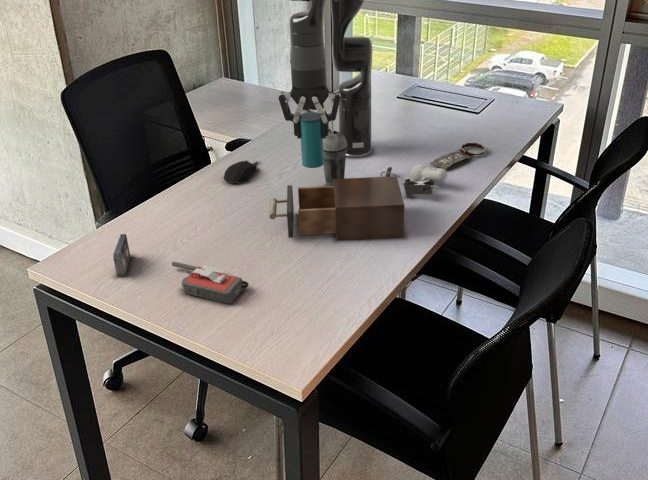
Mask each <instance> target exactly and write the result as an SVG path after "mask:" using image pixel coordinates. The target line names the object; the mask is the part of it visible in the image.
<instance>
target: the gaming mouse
mask: <svg viewBox="0 0 648 480" xmlns="http://www.w3.org/2000/svg"><path fill="white" fill-rule="evenodd" d="M256 164H258V162H257V161H256V162H254V163H251V162H250V161H249V160H241V161H238V162H235V163H233V164H231V165H229V166H228V167H227V169H226V170H225V171H224V175H223V180H224V181H225V182H226V183H229V184H242V183H244V182H246V181H248V179H250V178H251V177H252V176H253V175H254V174H255V173H256V172H257V166H256Z"/></svg>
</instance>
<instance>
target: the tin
mask: <svg viewBox="0 0 648 480" xmlns="http://www.w3.org/2000/svg"><path fill="white" fill-rule="evenodd" d="M299 120H300V134H301V139H300V149H301V150H300V151H301V165H302V166H303V167H304V168H307V169H316V168H317V169H318V168H321V167H323V166H324V165H323V164H324V156H323V139H322V120H321V117H320V115H319V114H318V112H317V111H311V112H308V111H306V112H302V113H301V115H300V118H299Z"/></svg>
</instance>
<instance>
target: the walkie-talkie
mask: <svg viewBox="0 0 648 480" xmlns="http://www.w3.org/2000/svg"><path fill="white" fill-rule="evenodd" d="M171 266H172V267H175V268H180V269H184V270H189V271H191V272H190V274H188V276H186V277H184V278H183V279H182V280H181V287H182V289H183V293H184V294H186V295H190V296H194V297H199V298H203V299H207V300H212V301H215V302H219V303H224V304H230V303H232V302H233V301H234V300H235V299H236V298H237V297H238V296H239V295H240V294H241V292H242V291H243V290H244V289H247V288H248V287H249V282H248V281H246V280H243V279H242V277H239V276H235V275H230V274H227V273H224V271H223V270H222V269H221V268H220V267H219V268H218V267H214V266H211V265H208V264H204V265H203V266H196V265H192V264H187V263H182V262H178V261H172V262H171Z"/></svg>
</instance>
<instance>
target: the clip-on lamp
mask: <svg viewBox="0 0 648 480" xmlns="http://www.w3.org/2000/svg"><path fill="white" fill-rule="evenodd" d="M392 170H393V165H390V166H388V167H387V169H386V171H381V172H380V177H391V176H397V178H399V179H401V180H403V181H404V182H403V187H404V192H405V195H406V198H411V197H412V196H413V195H432V193H433V189H435V190H439V189H440V188H439V186H438V185H436V184H435V182H438V183H439V182H445V181H446V179H447V177H448V172H447V171H446V170H447V169H446V170H445V169H442V168H440V167H427V166H426V165H424V164H422V163H419V164H418V163H417V164H415V165H413V166H412V169H411V170H410V174H409V175H410V177H406V178H404V177H403V176H400V175H398V174H395V173H393V172H392ZM383 174H385V176H384V175H383Z"/></svg>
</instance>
